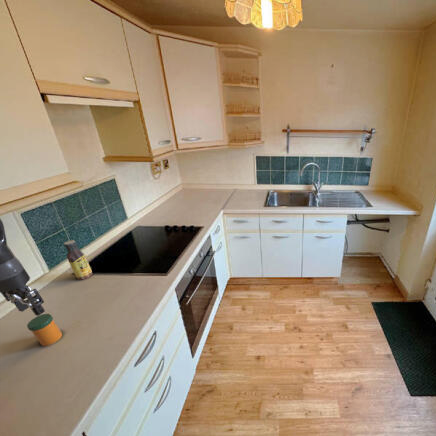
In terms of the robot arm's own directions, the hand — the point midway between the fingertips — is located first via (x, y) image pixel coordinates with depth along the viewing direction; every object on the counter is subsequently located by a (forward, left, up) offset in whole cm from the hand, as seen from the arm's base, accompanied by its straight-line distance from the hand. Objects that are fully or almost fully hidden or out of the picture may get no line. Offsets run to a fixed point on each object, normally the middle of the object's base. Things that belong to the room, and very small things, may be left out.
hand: (32, 311), depth 77 cm
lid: (0, 0, -5) cm, 5 cm away
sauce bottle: (+20, +33, -14) cm, 41 cm away
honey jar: (0, 0, -14) cm, 14 cm away
